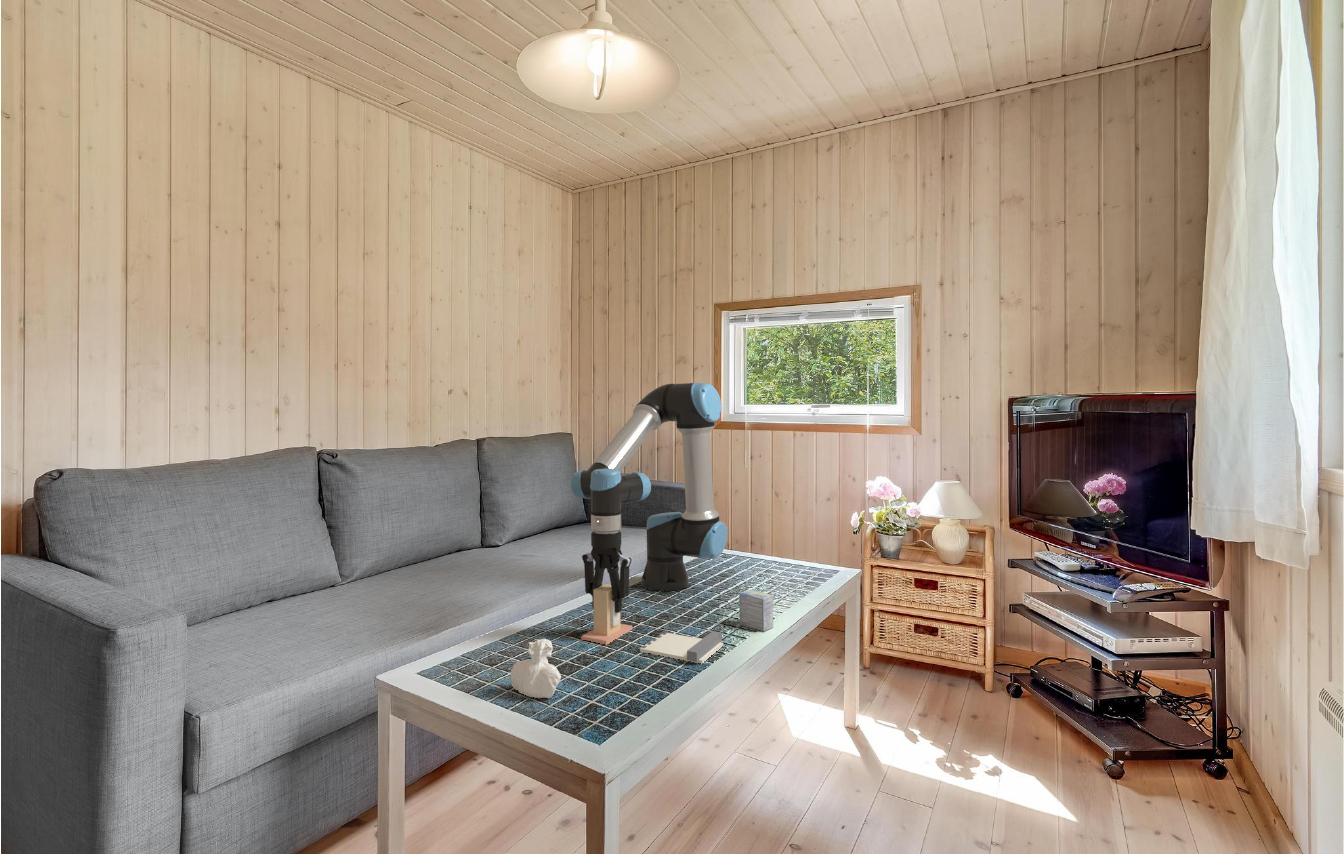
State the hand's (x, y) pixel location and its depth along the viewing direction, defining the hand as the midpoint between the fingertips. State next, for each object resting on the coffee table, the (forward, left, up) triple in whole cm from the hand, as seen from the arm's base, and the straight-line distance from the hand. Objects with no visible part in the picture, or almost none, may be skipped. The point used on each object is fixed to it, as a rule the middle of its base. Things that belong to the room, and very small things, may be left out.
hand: (607, 623), depth 162 cm
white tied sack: (+5, -33, -3) cm, 34 cm away
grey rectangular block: (+31, +23, -3) cm, 39 cm away
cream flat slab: (+21, 0, -3) cm, 21 cm away
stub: (0, 0, -3) cm, 3 cm away
